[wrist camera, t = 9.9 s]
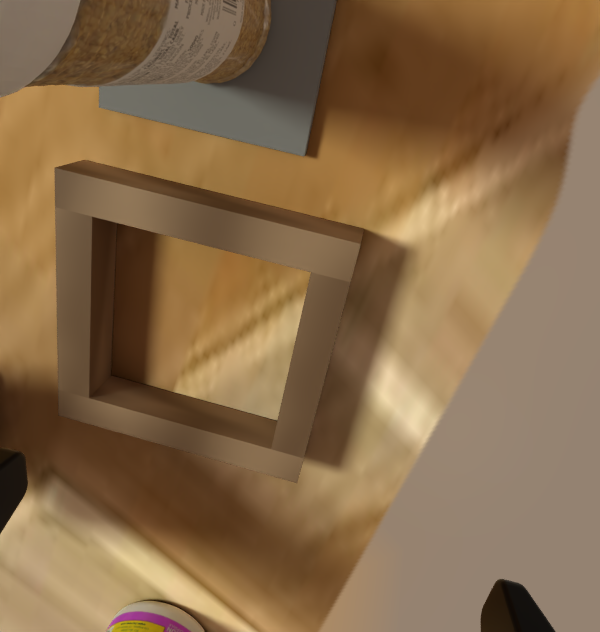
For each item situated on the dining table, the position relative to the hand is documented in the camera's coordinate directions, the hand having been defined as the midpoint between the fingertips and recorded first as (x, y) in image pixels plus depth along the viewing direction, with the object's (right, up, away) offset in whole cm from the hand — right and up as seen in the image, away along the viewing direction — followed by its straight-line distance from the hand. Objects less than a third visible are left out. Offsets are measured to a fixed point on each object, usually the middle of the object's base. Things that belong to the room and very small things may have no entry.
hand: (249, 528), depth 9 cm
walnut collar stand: (-3, +4, +13) cm, 14 cm away
